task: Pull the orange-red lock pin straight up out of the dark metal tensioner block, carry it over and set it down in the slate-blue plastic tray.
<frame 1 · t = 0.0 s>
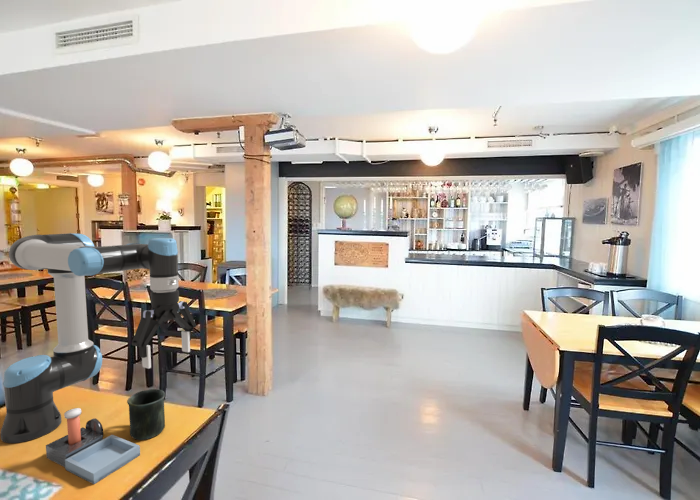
hand: (167, 359, 109), 28 cm above the table, fingers open, 13 cm apart
mug: (146, 430, 120), on the table
tensioner block: (75, 452, 108), on the table
lock pin: (75, 452, 108), resting in tensioner block
tray: (104, 462, 104), on the table
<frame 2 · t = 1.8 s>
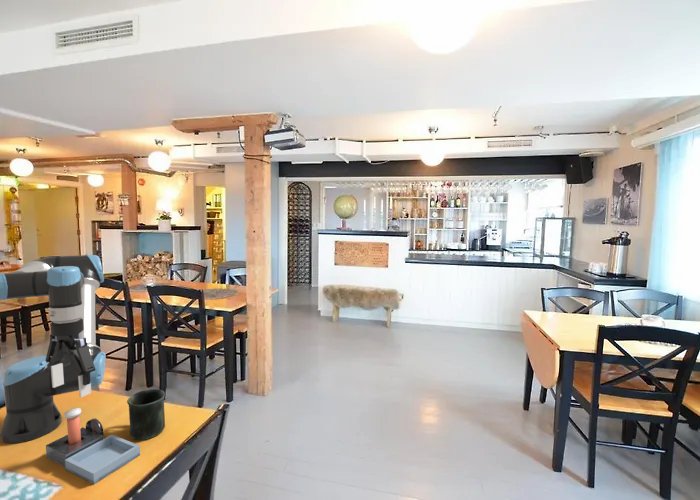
hand: (71, 390, 106), 20 cm above the table, fingers open, 13 cm apart
nothing on the table moved.
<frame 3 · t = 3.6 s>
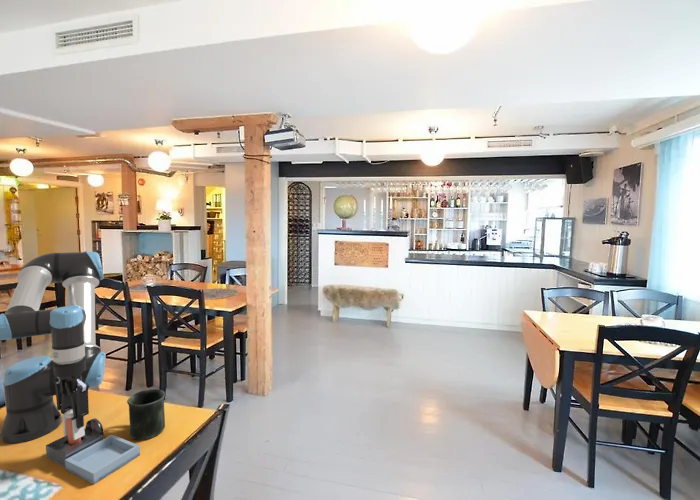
hand: (74, 435, 108), 6 cm above the table, fingers closed on lock pin, 4 cm apart
lock pin: (75, 452, 108), resting in tensioner block, touching gripper
everything else where it was.
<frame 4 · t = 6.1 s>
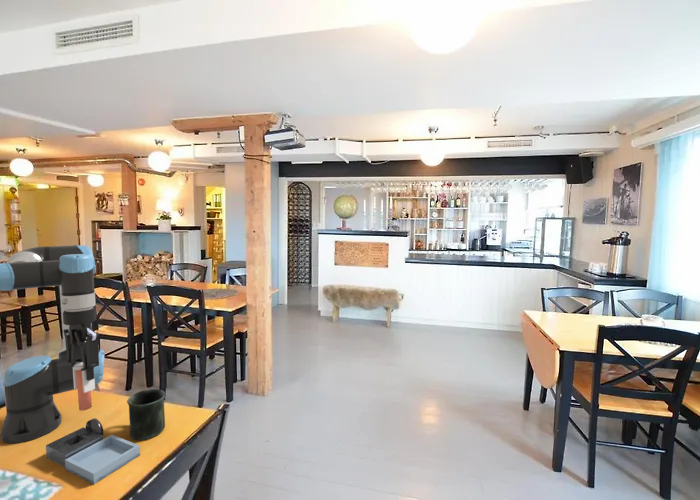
hand: (84, 388, 103), 22 cm above the table, fingers closed on lock pin, 4 cm apart
lock pin: (85, 407, 104), point 16 cm above the table, touching gripper
everything else where it was.
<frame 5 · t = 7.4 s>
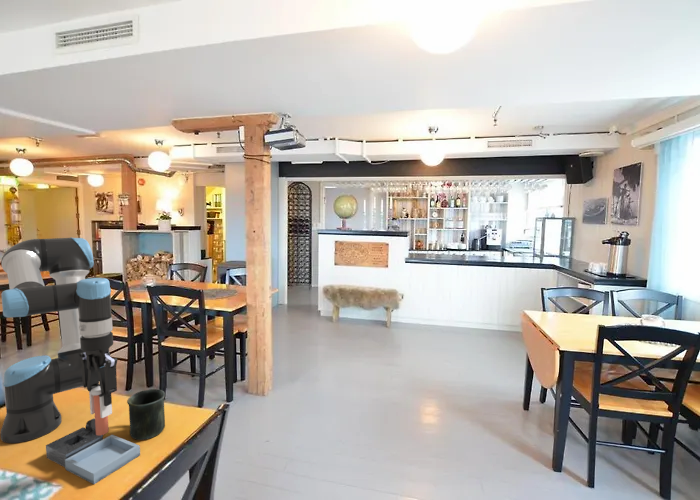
hand: (101, 413, 103), 15 cm above the table, fingers closed on lock pin, 4 cm apart
lock pin: (102, 432, 103), point 9 cm above the table, touching gripper
everything else where it was.
when the fingers open (8 cm above the table, at t = 8.6 s): lock pin drops 2 cm, resting on tray.
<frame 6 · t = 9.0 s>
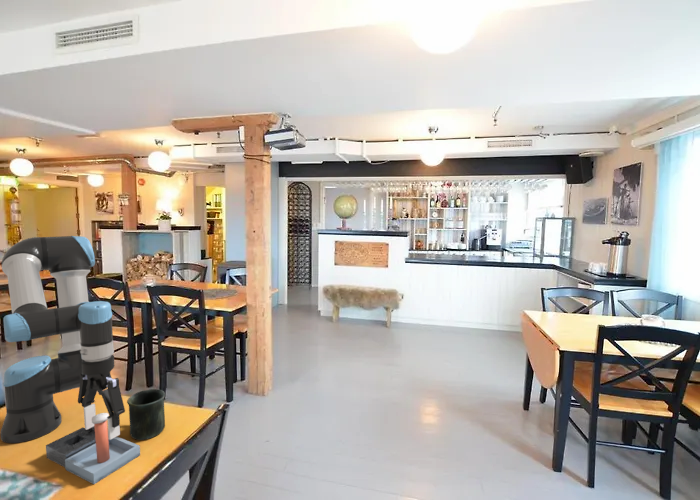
hand: (102, 431, 103), 9 cm above the table, fingers open, 10 cm apart
lock pin: (103, 459, 104), point 1 cm above the table, touching tray
everything else where it was.
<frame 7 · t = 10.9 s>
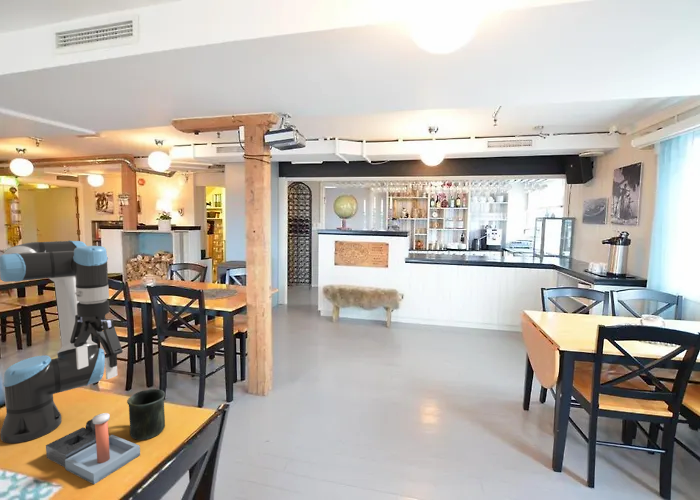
hand: (96, 372, 104), 26 cm above the table, fingers open, 13 cm apart
nothing on the table moved.
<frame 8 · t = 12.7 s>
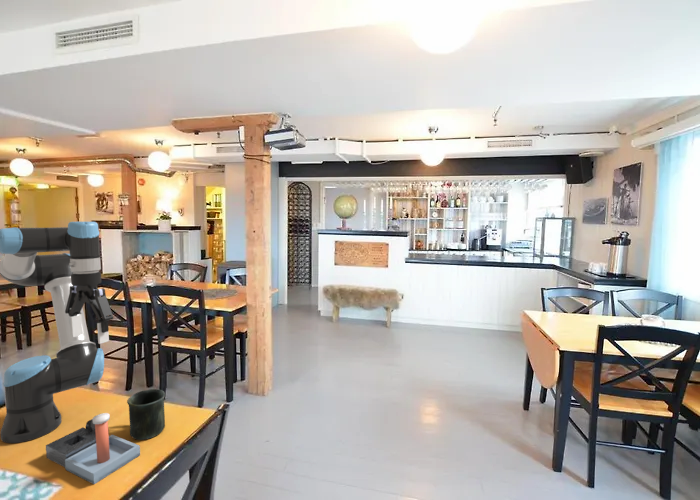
hand: (90, 339, 112), 33 cm above the table, fingers open, 13 cm apart
nothing on the table moved.
at the end: lock pin inside the target area on the tray (0.1 cm from its centre), point 0.8 cm above the tray's base; the gripper is holding nothing; lock pin touching tray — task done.
